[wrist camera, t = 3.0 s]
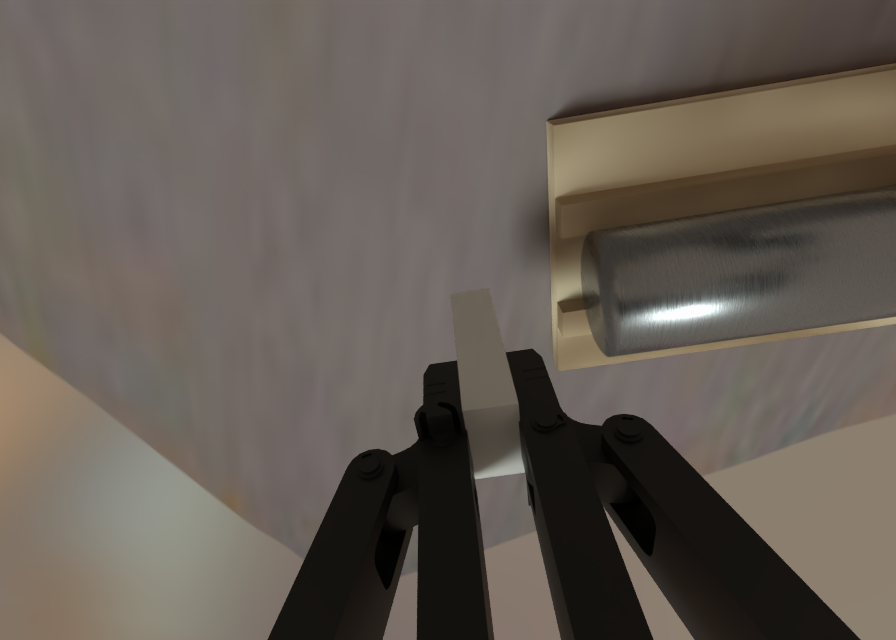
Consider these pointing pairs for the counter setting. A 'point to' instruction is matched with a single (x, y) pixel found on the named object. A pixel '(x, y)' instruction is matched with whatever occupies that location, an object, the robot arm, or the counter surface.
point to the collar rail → (708, 174)
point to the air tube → (742, 272)
